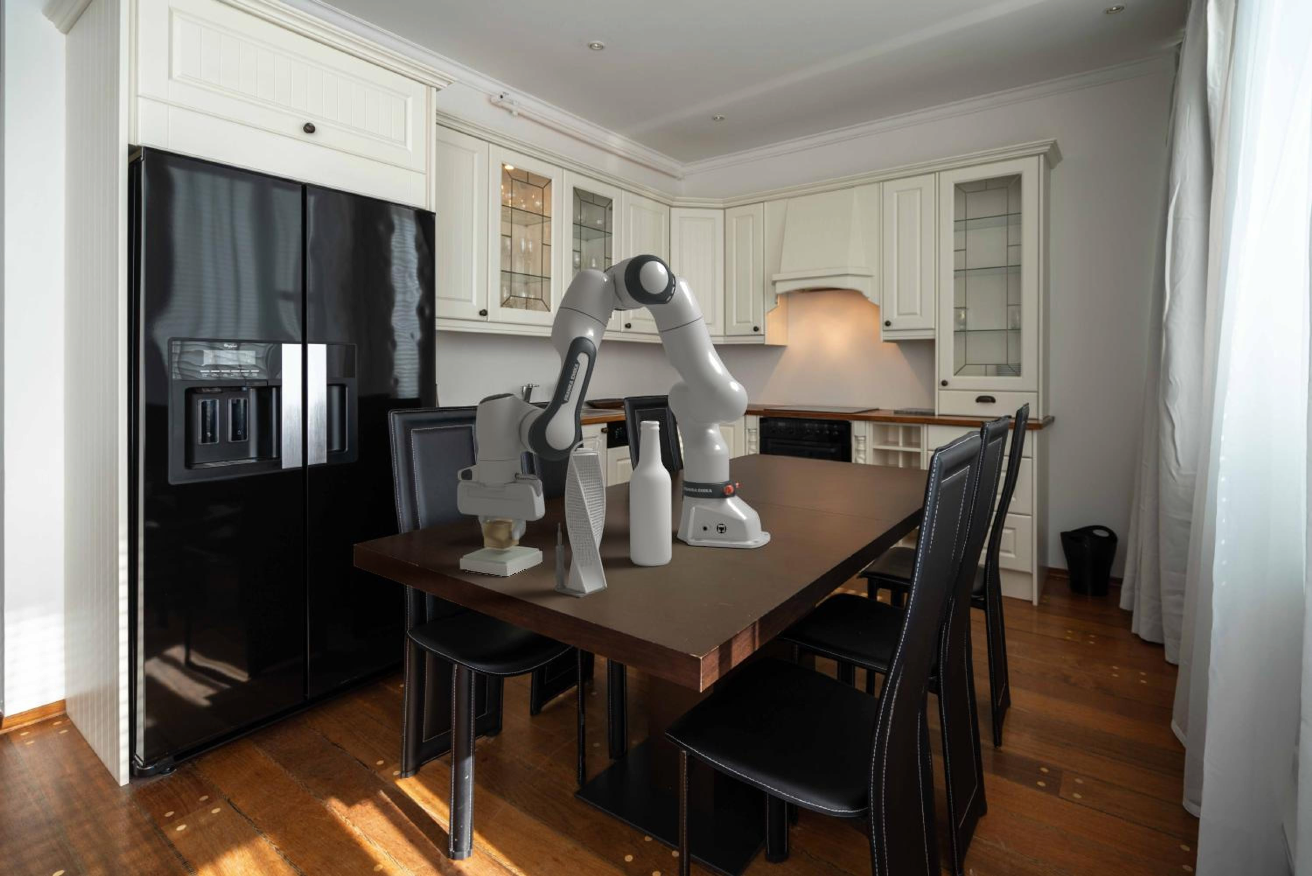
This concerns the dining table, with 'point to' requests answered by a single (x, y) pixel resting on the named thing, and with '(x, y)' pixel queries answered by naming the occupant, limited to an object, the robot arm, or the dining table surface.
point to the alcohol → (650, 503)
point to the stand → (501, 560)
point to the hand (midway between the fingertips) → (501, 537)
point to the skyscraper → (583, 523)
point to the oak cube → (498, 534)
